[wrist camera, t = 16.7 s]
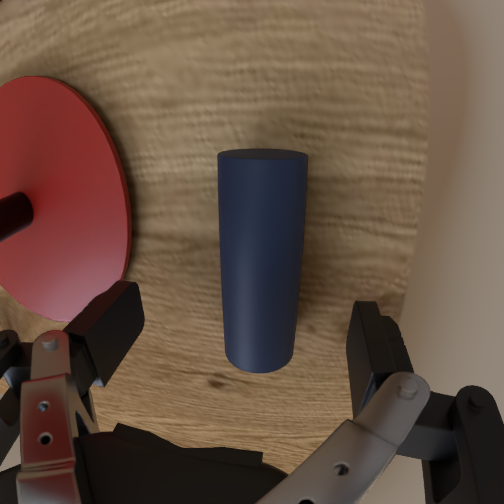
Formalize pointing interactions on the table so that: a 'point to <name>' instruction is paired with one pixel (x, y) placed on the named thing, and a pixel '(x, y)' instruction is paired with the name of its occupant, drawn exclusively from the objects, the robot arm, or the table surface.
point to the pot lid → (59, 199)
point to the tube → (261, 253)
